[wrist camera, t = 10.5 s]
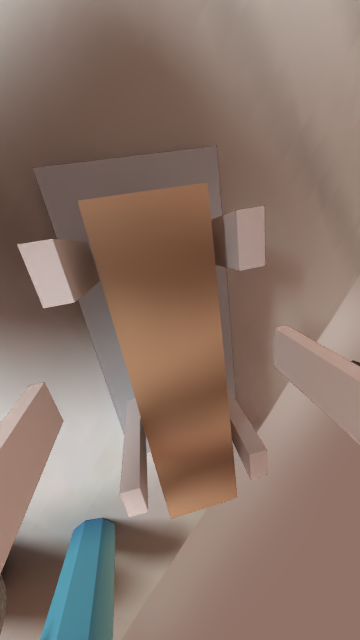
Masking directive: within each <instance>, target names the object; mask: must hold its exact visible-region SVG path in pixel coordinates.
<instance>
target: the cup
mask: <svg viewBox="0 0 360 640" xmlns="http://www.w3.org/2000/svg"><path fill="white" fill-rule="evenodd" d="M114 571H115V523H113V522H111V521H108V520H106V519H104V518H100V519H94V520H87V521H85V522H83V523H82V524H81V525H80V526H78V527H77V528H76V529H75V530H74V532H73V535H72V538H71V541H70V544H69V548H68V551H67V554H66V557H65V561H64V564H63V567H62V570H61V574H60V577H59V580H58V583H57V586H56V590H55V593H54V596H53V599H52V603H51V606H50V609H49V612H48V616H47V619H46V622H45V625H44V628H43V632H42V635H41V638H40V640H113V616H114Z"/></svg>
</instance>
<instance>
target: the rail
mask: <svg viewBox="0 0 360 640" xmlns="http://www.w3.org/2000/svg"><path fill="white" fill-rule="evenodd" d="M78 205H79V208H80V212H81V215H82V218H83V222H84V225H85V229H86V232H87V235H88V239H89V242H90V246H91V249H92V252H93V256H94V259H95V263H96V266H97V269H98V273H99V276H100V280H101V283H102V287H103V290H104V293H105V297H106V300H107V304H108V307H109V310H110V314H111V317H112V321H113V324H114V327H115V331H116V334H117V338H118V341H119V344H120V348H121V351H122V355H123V358H124V361H125V365H126V368H127V372H128V375H129V378H130V382H131V385H132V389H133V392H134V396H135V399H136V402H137V406H138V409H139V413H140V416H141V419H142V423H143V426H144V430H145V433H146V436H147V440H148V443H149V447H150V450H151V453H152V457H153V460H154V464H155V467H156V470H157V474H158V477H159V481H160V484H161V487H162V491H163V494H164V498H165V501H166V505H167V508H168V511H169V515H170V518H171V519H172V518H175V517H179V516H182V515H185V514H188V513H191V512H194V511H197V510H201V509H204V508H207V507H210V506H213V505H216V504H219V503H222V502H226V501H229V500H232V499H235V498H237V488H236V477H235V467H234V456H233V446H232V435H231V424H230V414H229V403H228V392H227V382H226V371H225V361H224V350H223V339H222V329H221V318H220V307H219V297H218V286H217V276H216V265H215V254H214V244H213V233H212V222H211V212H210V201H209V191H208V182H207V183H199V184H192V185H185V186H178V187H171V188H164V189H156V190H149V191H142V192H135V193H128V194H121V195H114V196H106V197H99V198H92V199H85V200H78Z"/></svg>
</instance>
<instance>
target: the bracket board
mask: <svg viewBox="0 0 360 640" xmlns="http://www.w3.org/2000/svg"><path fill="white" fill-rule="evenodd" d="M33 171H34V174H35V177H36V180H37V182H38V185H39V188H40V191H41V194H42V197H43V200H44V203H45V206H46V209H47V212H48V214H49V217H50V220H51V223H52V226H53V229H54V232H55V235H56V238H57V239H48V240H42V241H35V242H29V243H22V244H17V246H18V248H19V250H20V253H21V255H22V258H23V260H24V263H25V265H26V267H27V270H28V272H29V275H30V277H31V280H32V282H33V284H34V287H35V289H36V292H37V294H38V297H39V299H40V302H41V304H42V306H43V308H48V307H54V306H59V305H64V304H69V303H75V302H76V301H77V300H78V302H79V305H80V308H81V311H82V313H83V316H84V319H85V322H86V325H87V328H88V331H89V334H90V337H91V340H92V343H93V345H94V348H95V351H96V354H97V357H98V360H99V363H100V366H101V369H102V372H103V375H104V377H105V380H106V383H107V386H108V389H109V392H110V395H111V398H112V401H113V404H114V407H115V409H116V412H117V415H118V418H119V421H120V424H121V427H122V430H123V433H124V447H123V459H122V470H121V482H120V493H119V494H120V496H121V499H122V501H123V503H124V506H125V508H126V511H127V513H128V516H129V517H133V516H136V515H139V514H142V513H145V512H148V490H147V454H146V453H148V452H151V450H150V447H149V443H148V440H147V436H146V433H145V430H144V426H143V423H142V419H141V416H140V413H139V409H138V406H137V402H136V399H135V396H134V392H133V389H132V385H131V382H130V378H129V375H128V372H127V368H126V365H125V361H124V358H123V355H122V351H121V348H120V344H119V341H118V338H117V334H116V331H115V327H114V324H113V321H112V317H111V314H110V310H109V307H108V304H107V300H106V297H105V293H104V290H103V287H102V283H101V280H100V276H99V273H98V269H97V266H96V263H95V259H94V256H93V252H92V249H91V246H90V242H89V239H88V235H87V232H86V229H85V225H84V222H83V218H82V215H81V212H80V208H79V205H78V200H85V199H92V198H99V197H106V196H114V195H121V194H128V193H135V192H142V191H149V190H156V189H164V188H171V187H178V186H185V185H192V184H199V183H207V182H208V191H209V201H210V212H211V222H212V233H213V244H214V254H215V265H216V276H217V286H218V297H219V307H220V318H221V329H222V339H223V350H224V361H225V371H226V382H227V392H228V403H229V414H230V424H231V435H232V441H233V443H234V445H235V447H236V449H237V452H238V454H239V456H240V458H241V460H242V462H243V464H244V466H245V468H246V470H247V473H248V475H249V477H250V479H251V480H252V479H254V478H258V477H261V476H264V475H267V449H266V447H265V446H264V444H263V443H262V441H261V439H260V438H259V436H258V435H257V433H256V431H255V430H254V428H253V426H252V425H251V423H250V422H249V420H248V418H247V417H246V415H245V414H244V412H243V410H242V409H241V407H240V406H239V404H238V402H237V401H236V391H235V378H234V365H233V352H232V338H231V325H230V312H229V299H228V286H227V273H226V268H230V269H234V270H238V271H242V270H247V269H252V268H257V267H263V266H265V212H264V206H258V207H252V208H246V209H239V210H235V211H232V212H230V213H227V214H224V215H222V207H221V194H220V181H219V168H218V155H217V146H210V147H202V148H194V149H185V150H177V151H168V152H160V153H152V154H143V155H135V156H127V157H118V158H110V159H102V160H93V161H85V162H76V163H68V164H60V165H51V166H43V167H35V168H33Z"/></svg>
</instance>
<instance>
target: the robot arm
mask: <svg viewBox="0 0 360 640" xmlns="http://www.w3.org/2000/svg"><path fill="white" fill-rule="evenodd" d="M274 367H275V368H276V369H277V370H278V371H279V372H280V373H282V374H283V375H284V376H285V377H286V378H287V379H288V380H289V381H290V382H291V383H293V384H294V385H295V386H296V387H297V388H298V389H299V390H300V391H301V392H302V393H304V394H305V395H306V396H307V397H308V398H309V399H310V400H311V401H313V403H315V404H316V405H317V406H318V407H319V408H320V409H321V410H322V411H323V412H325V413H326V414H327V415H328V416H329V417H330V418H331V419H332V420H333V421H334V422H335V423H337V424H338V425H339V426H340V427H341V428H342V429H343V430H344V431H345V432H346V433H348V434H349V435H350V436H351V437H352V438H353V439H354V440H355V441H356V442H357V443H358V444H360V363H359V362H356V361H349V360H347V359H345V358H344V357H342V356H340V355H338V354H336V353H335V352H333V351H331V350H329V349H328V348H326V347H324V346H322V345H320V344H318V343H317V342H315V341H313V340H311V339H310V338H308V337H306V336H304V335H303V334H301V333H299V332H297V331H295V330H294V329H292V328H290V327H288V326H281V327H277V328H275V332H274ZM62 423H63V419H62V417H61V415H60V413H59V411H58V409H57V407H56V405H55V403H54V400H53V398H52V396H51V394H50V392H49V390H48V388H47V386H46V384H45V382H43V383H38V384H34V385H30V386H28V388H27V389H26V390H25V392H24V393H23V394H22V396H21V397H20V398H19V400H18V401H17V402H16V404H15V405H14V406H13V408H12V409H11V410H10V412H9V413H8V414H7V416H6V417H5V418H4V420H3V421H2V422H1V424H0V574H1V572H2V569H3V567H4V564H5V562H6V559H7V557H8V555H9V552H10V550H11V547H12V545H13V542H14V540H15V538H16V535H17V533H18V530H19V528H20V525H21V523H22V521H23V518H24V516H25V513H26V511H27V508H28V506H29V503H30V501H31V499H32V496H33V494H34V491H35V489H36V486H37V484H38V482H39V479H40V477H41V474H42V472H43V469H44V467H45V465H46V462H47V460H48V457H49V455H50V452H51V450H52V448H53V445H54V443H55V440H56V438H57V435H58V433H59V431H60V428H61V426H62Z"/></svg>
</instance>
